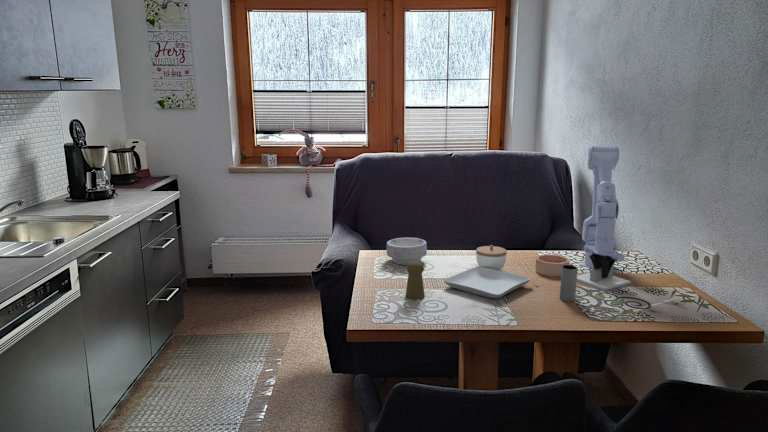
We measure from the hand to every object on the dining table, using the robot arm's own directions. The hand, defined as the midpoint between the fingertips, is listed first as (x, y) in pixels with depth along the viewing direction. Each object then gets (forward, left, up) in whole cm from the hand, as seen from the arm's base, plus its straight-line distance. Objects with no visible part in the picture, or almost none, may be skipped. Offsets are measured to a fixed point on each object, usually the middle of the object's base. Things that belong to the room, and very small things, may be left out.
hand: (601, 276), depth 182 cm
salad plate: (+36, -16, -3) cm, 39 cm away
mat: (0, 0, -2) cm, 2 cm away
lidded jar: (+23, -29, -2) cm, 37 cm away
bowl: (+6, -16, -2) cm, 17 cm away
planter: (+22, +5, -2) cm, 23 cm away
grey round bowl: (+43, -54, -2) cm, 69 cm away
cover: (0, 0, -2) cm, 2 cm away
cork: (+61, -21, -2) cm, 65 cm away
